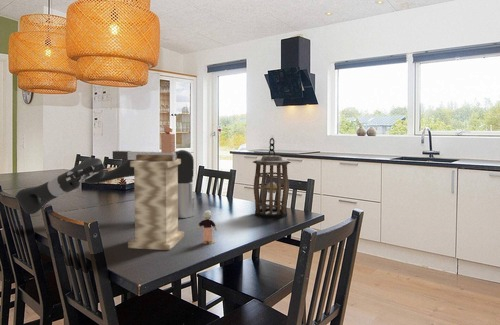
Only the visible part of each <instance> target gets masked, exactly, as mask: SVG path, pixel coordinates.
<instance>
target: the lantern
mask: <svg viewBox="0 0 500 325" xmlns="http://www.w3.org/2000/svg"><path fill="white" fill-rule="evenodd" d="M275 142H276V141H275V139H274V138H273V137H270V138H269V147H268V148H269V150H268V154H267V155H262V156H261V159H255V160H254V161H252V163H254V164H255V173H254V179H253V196H254V203H255V204H254V206H255V211H254V216H255V217H257V218H260V217H261V218H262V219H268V218H274V220H276V218H277V219H283V218H285V217H287V216H288V215H287V205H288V204H287V203H288V196H289V190H290V182H289V177H288V176H289V175H288V165H289V164H292V162H291V161H289V160H287V159H286V160H285V159H283V158H282V156H281V155H276V152H275ZM271 153H273V154H272V155H271ZM261 166H262V167H261ZM267 166H269V172H267ZM274 166H276V172H274ZM261 168H262V172H261ZM260 178H261V179H260ZM266 178H267V179H268V178H269V182H268V183H266ZM274 179H276V180H277V183H276V182H275V181H274ZM260 180H261V183H260ZM282 182H283V184H282ZM260 190H261V199H260ZM266 192H267V193H269V198H268V199H266ZM273 194H276V197H275V198H276V200H275V199H273V197H274V195H273ZM281 196H282V197H281ZM266 203H268V204H266ZM274 203H275V204H274Z"/></svg>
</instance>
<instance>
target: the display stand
mask: <svg viewBox="0 0 500 325" xmlns="http://www.w3.org/2000/svg"><path fill="white" fill-rule="evenodd" d="M179 164H181V159H177V155H176V160H175V161H173V156H171V155H136V160H135V161H130V167H134V176H133V178H134V180H133V182H134V183H133V184H134V186H133V187H134V238H132V239H131V240H130V241H129V242H127V249H138V250H140V249H141V250H159V251H161V250H162V251H170V250H172V249H173V248H174V247H175V246H176V245H177V244H178V243H179V242H180V241H181V240H182V239H183V238H184V237H185V231H183V230H181V231H180V230H179V218H178V165H179Z"/></svg>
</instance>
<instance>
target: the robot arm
mask: <svg viewBox="0 0 500 325" xmlns="http://www.w3.org/2000/svg"><path fill="white" fill-rule="evenodd" d="M175 152H176V155H177V159H181V164H179V165H178V219H179V218H180V219H186V218H187V219H188V218H191V217H195V196H194V194H193V191H194V190H193V186H194V185H193V184H194V169H195V167H194V164H195V163H194V162H195V161H194V157H193V154H192V153H191V152H189V151H188V150H184V149H180V150H175ZM130 161H135V160H124V161H123V163H121V164H120V165H119V166H118V167H115V168H114V169H110V170H107V171H105V169H106V166H105V164H104V163H103V161H102V159H100V158H95V157H93V158H91V157H90V158H88V159H85V160H84V161H82V162H80V163H79V164H77V165H75V166H74V167H72V168H71V169H69V170H67V171H65V172H63V173H61V174H59V175H58V176H55V177H54V178H52V179H51V180H49V181H47V182H45V183H43V184H40V185H38V186H31V187H26V188H25V187H24V188H22V189H20V190H19V191H17V193H16V194H15V197H16V200H17V202H18V204H19V205H20V207H21V209H22V210H23V212H24V213H25V214H27V215H33V214H36V213H38V212H39V211H41V209H42V208H43V207H45V205H47V204H48V203H49V202H51V201H53V200H55V199H57V198H58V197H61V196H63V195H66V194H68V193H70V192H73V191H74V190H76V189H78V188H79V187H80V185H81V182H85V183H86V184H90V185H91V184H92V185H93V184H100V183H104V182H109V181H113V180H118V179H122V178H130V177H134V167H130ZM42 206H43V207H42ZM41 207H42V208H41Z"/></svg>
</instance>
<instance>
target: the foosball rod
mask: <svg viewBox="0 0 500 325" xmlns="http://www.w3.org/2000/svg"><path fill="white" fill-rule="evenodd" d="M163 132H164V133H161V135H160V139H161V141H160V142H161V144H160V146H161V148H160V149H161V150H160V151H134V150H133V151H132V150H112V161H113V160H114V161H115V160H116V161H126V160H136V155H171V156H173V161H175V160H176V134H175V133H173V127H172V126H170V125H165V126H164V127H163Z"/></svg>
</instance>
